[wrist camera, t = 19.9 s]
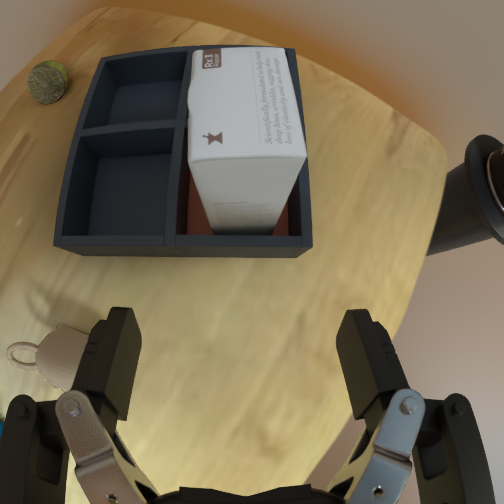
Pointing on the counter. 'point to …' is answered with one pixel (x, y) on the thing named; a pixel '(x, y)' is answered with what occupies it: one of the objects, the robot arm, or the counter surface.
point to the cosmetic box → (243, 137)
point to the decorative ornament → (54, 356)
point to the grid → (156, 169)
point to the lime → (47, 81)
